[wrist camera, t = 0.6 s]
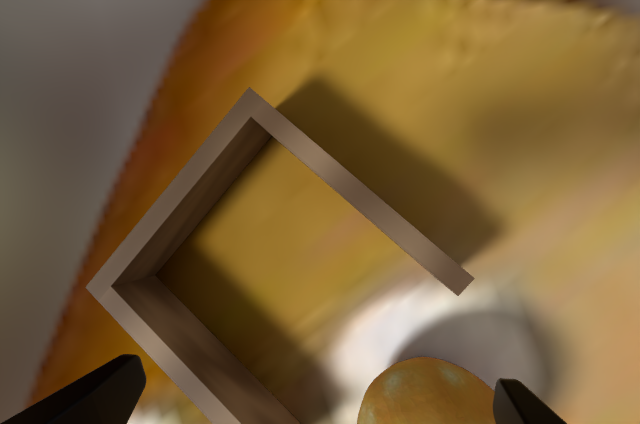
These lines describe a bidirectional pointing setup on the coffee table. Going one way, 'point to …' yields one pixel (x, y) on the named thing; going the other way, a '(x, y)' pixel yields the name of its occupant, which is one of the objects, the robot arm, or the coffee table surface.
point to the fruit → (427, 395)
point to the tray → (180, 220)
